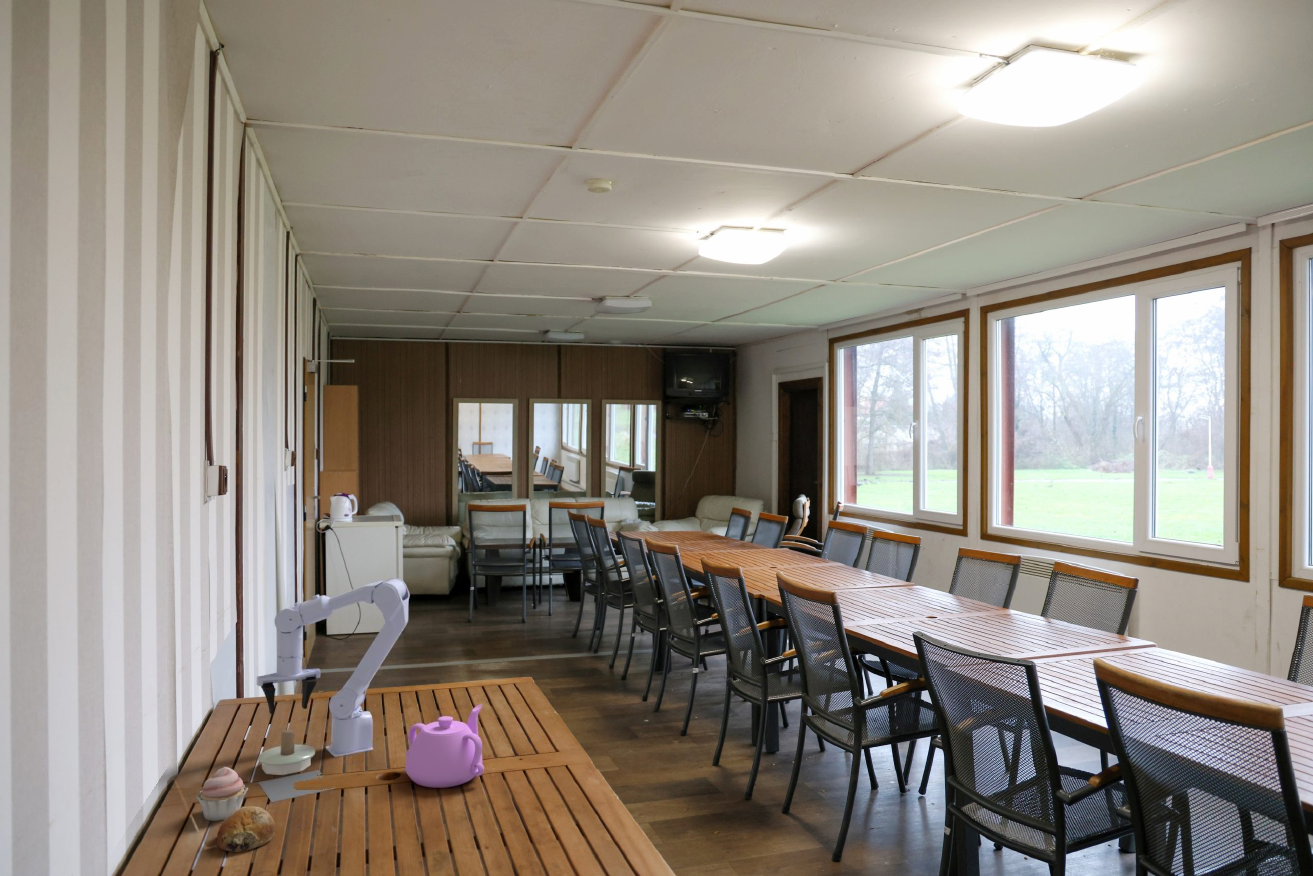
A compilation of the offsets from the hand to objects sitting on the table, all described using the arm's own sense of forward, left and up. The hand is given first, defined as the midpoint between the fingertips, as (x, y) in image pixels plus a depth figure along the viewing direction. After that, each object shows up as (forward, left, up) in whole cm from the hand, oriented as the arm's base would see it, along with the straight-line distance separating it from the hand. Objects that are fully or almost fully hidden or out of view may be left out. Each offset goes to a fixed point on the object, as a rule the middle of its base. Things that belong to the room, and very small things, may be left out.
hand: (288, 710), depth 210 cm
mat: (+4, +25, -10) cm, 27 cm away
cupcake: (+20, +32, -10) cm, 39 cm away
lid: (+3, +13, -7) cm, 15 cm away
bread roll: (+18, +47, -10) cm, 51 cm away
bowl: (+3, +12, -10) cm, 16 cm away
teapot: (-27, +37, -10) cm, 47 cm away
